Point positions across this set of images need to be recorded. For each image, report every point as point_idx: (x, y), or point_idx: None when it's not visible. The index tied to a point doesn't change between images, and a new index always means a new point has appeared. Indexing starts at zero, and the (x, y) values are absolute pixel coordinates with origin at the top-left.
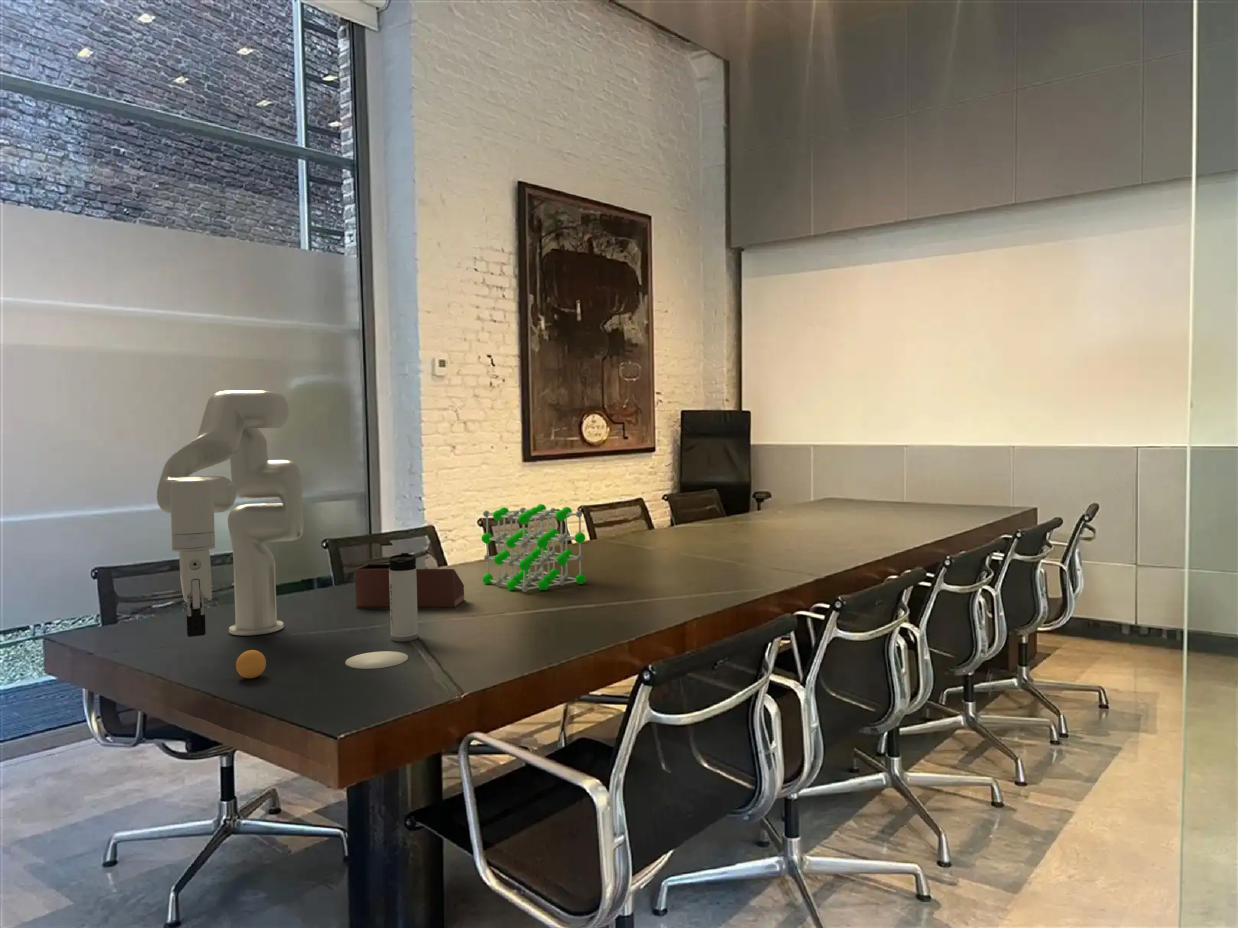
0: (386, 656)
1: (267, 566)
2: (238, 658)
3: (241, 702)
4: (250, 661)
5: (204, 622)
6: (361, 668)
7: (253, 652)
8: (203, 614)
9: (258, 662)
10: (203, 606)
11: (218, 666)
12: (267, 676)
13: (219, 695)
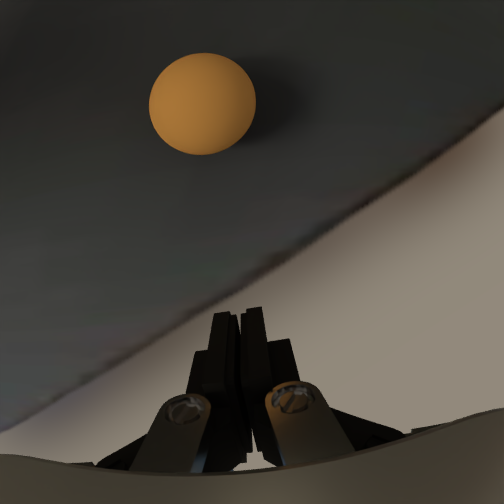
0: None
1: None
2: (211, 141)
3: (439, 138)
4: (251, 96)
5: (265, 345)
6: None
7: (217, 80)
8: (311, 385)
9: (244, 72)
10: (342, 432)
11: (48, 232)
12: None
13: (364, 191)
